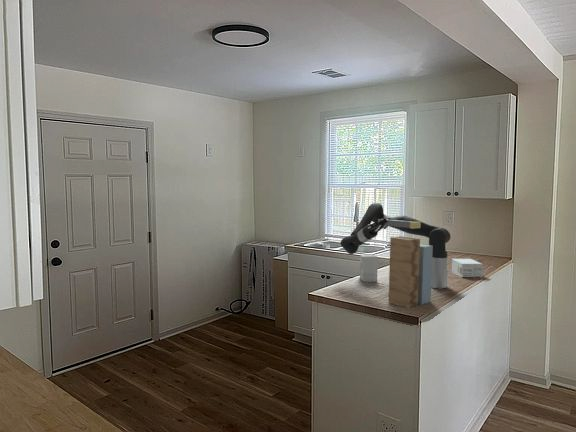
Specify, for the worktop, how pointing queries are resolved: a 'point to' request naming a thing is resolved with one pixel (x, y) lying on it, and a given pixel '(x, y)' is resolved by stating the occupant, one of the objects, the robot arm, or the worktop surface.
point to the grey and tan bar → (402, 223)
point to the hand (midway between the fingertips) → (388, 219)
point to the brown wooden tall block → (404, 271)
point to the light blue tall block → (425, 274)
